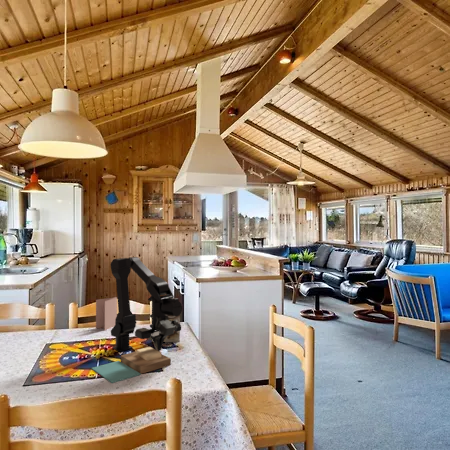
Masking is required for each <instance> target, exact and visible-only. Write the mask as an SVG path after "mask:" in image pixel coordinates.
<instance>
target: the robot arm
mask: <svg viewBox="0 0 450 450" xmlns="http://www.w3.org/2000/svg"><path fill="white" fill-rule="evenodd" d="M109 267H110V270H111V274H112V276H113V277H114V279H115V283H116V284H115V285H116V295H117V296H116V297H117V317H116V319H115V326H113V327H111V328H112V329H111V330H110V335H111V336H112V337H115V346H112V349H114V350H115V351H118V352H123V351H127V350H131V349H133V346H131V345H130V334H134V337H136V338H138V339H140V340H147V339H150V338H151V340H152V343H153V344H154V347H155V350H158V351H160V352H161V350H162V348H163V345H164V343H163V342H164V339H165V338H166V337H167V336H168V335H170V334H173V333H174V331H180V332H182V325H181V322H180V323H178V321H177V320H173V321H169V320H168V315H172V316H179V315H180V316H181V314H182V312H183V304H182V302H180V301H179V298H177V297H175V298H174V293H173V292H172V289H171V288H170V286H169V283H168V282H167V281H166V280H165V279H163V278H162V277H158V276H157V275H155V273H153V272H152V271H151V270H150V269H149V268H148V267H147V266H146V265H145V264H144V263H143V262H142V261H141V259H140V258H139V257H138V256H133V257H132V256H130V257H122V258H119V257H118V258H113V259H112V260H111V262H110V266H109ZM131 270H132V271H133V272H134V273H135V274H136V276H138V277H139V278H140V280H142V281H143V282H144V284H145V285H146V290H147V292H148V293H149V295H150V296H149V297H148V298H147V301H148V302H149V301H150V302H151V314H149V318H151V324H150V325H149V328H146V327H139V328H136V326H137V318H136V317H137V316H136V314H135V313H132V311H131V305H130V303H131V302H130V292H129V291H130V289H129V276H130V274H131V272H132V271H131ZM166 314H167V315H166ZM135 329H136V330H135Z"/></svg>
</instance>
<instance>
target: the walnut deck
mask: <svg viewBox="0 0 450 450" xmlns="http://www.w3.org/2000/svg"><path fill="white" fill-rule="evenodd" d="M171 360H172V359H171V357H168V356H166V355H164V354H162V353H161V358H157V359H154V360H150V361H147V360H145V359H143V358H141V357H139V356H137V355H136V351H133V352H129V353H125V354H121V355H120V362H122V363H123V364H125V365H127V366H128V367H130V368H132V369H134V370H135V371H137V372H139V373H140V375H143V374H145V373H149V372H153V371H155V370H159V369H161V368H166V367H168V366H171V364H172V363H171V362H172V361H171Z"/></svg>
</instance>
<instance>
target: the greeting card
mask: <svg viewBox="0 0 450 450" xmlns="http://www.w3.org/2000/svg"><path fill="white" fill-rule="evenodd" d="M117 315H118V298H117V296H115V297H106V298H100V299H96V300H95V329H100V328H104V331H107V330H109V329H111V328H113V327H114V326H115V319H116V317H117Z"/></svg>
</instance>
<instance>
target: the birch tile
mask: <svg viewBox="0 0 450 450" xmlns="http://www.w3.org/2000/svg"><path fill="white" fill-rule="evenodd" d="M135 352H136V355H137V356H139V357H141V358H143V359H145V360H147V361H150V360H154V359H157V358H161V354H162V352H161V350H160V351H158V350H157V349H156V348H153V347H151V346H146V347H144V348H139V349H135Z"/></svg>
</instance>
